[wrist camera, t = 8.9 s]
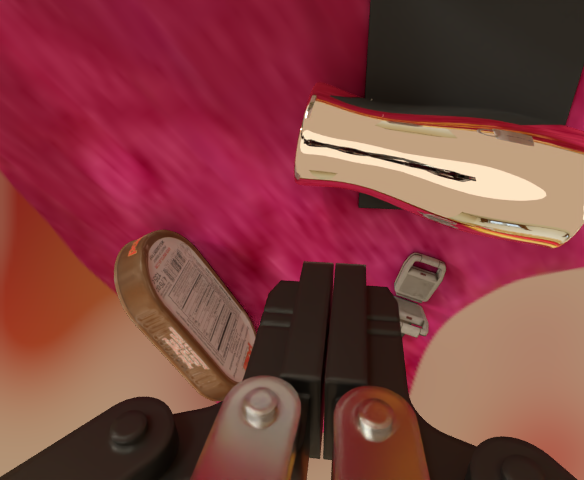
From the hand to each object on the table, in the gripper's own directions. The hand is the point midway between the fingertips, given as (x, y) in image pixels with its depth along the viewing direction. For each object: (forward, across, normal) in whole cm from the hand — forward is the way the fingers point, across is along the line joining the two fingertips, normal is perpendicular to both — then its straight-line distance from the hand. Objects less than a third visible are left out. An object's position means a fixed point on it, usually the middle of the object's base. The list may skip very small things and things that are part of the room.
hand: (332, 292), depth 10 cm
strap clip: (+20, -5, +15) cm, 25 cm away
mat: (+19, -7, 0) cm, 21 cm away
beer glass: (+16, +3, +1) cm, 17 cm away
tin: (+20, +11, +15) cm, 27 cm away
